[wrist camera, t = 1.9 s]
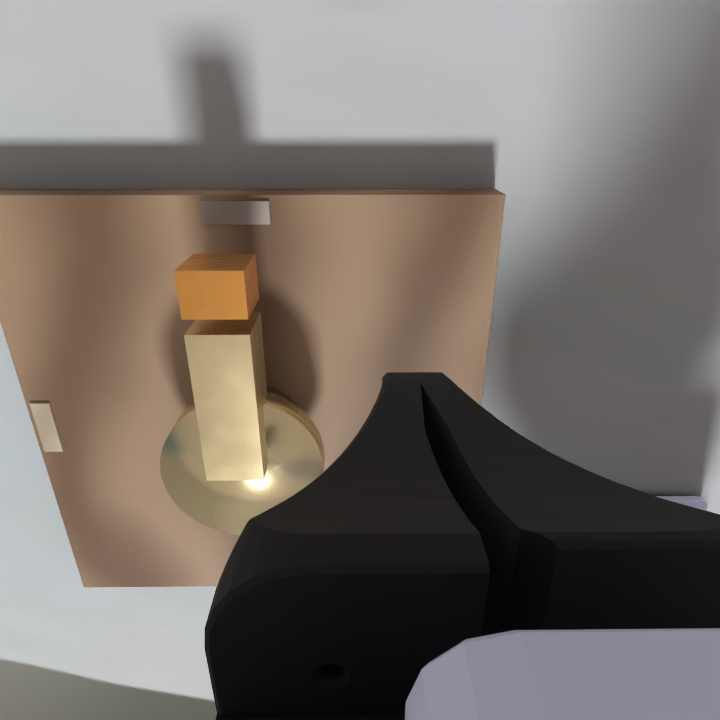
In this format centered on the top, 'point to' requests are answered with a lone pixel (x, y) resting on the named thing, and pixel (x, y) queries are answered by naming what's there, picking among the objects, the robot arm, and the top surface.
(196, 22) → the top surface
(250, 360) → the lever handle
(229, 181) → the top surface
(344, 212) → the board
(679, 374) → the top surface
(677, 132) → the top surface
